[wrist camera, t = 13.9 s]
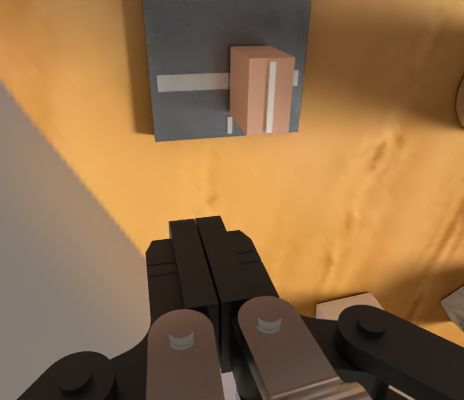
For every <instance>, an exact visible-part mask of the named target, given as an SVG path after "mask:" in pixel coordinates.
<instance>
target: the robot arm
mask: <svg viewBox="0 0 464 400" xmlns="http://www.w3.org/2000/svg"><path fill="white" fill-rule="evenodd" d="M456 111H457V116H458V119H459V121H460V123H461V124H462V125H463V126H464V78H463V80H462V82H461V85H460V87H459V90H458V95H457V100H456ZM169 235H170V239H163V240H155V241H152V242H151V244H150V246H149V248H148V249H147V251H146V264H147V276H148V287H149V288H148V289H149V302H150V315H151V324H150V328H149V330H148V333H147V334H146V336H145V337H144V338H143V340H142V341H141V342H140V343H139V344H137V345H136V346H135V347H134V348H132V349H131V350H129V351H127V352H125V353H123V354H121V355H119V356H116V357H114V358H112V359H110V360H109V359H108V358H107V357H106V356H104V355H102V354H100V353H97V352H92V351H83V352H77V353H73V354H70V355H68V356H65V357H63V358H62V359H60V360H58V361H57V362H55V363H54V364H53V365H51V366H50V367H49V368H48V369H47V370H46V371H45V372H44V373H43V374H42V375H41V376H40V377H39V378H38V379H37V380H36V381H35V382H34V383H33V384H32V385H31V386H30V387H29V388H28V389H27V390H26V391H25V392H24V393H23V394H22V395H21V396H20V397H19V398H18V399H17V400H225V398H224V392H223V385H222V380H221V373H226V372H231V371H232V372H233V375H234V379H235V383H236V400H409V399H408V398H406V397H404V396H402V395H401V394H399V393H397V392H395V391H394V390H392V389H390V388H389V386H392V387H394V388H395V389H397V390H399V391H401V392H402V393H404V394H406V395H408V396H410V397H411V398H413V399H415V400H464V348H463V347H461V346H459V345H457V344H455V343H453V342H451V341H449V340H446V339H444V338H442V337H440V336H438V335H436V334H434V333H431V332H429V331H427V330H425V329H423V328H421V327H419V326H416V325H414V324H412V323H410V322H408V321H406V320H404V319H401V318H399V317H397V316H395V315H393V314H391V313H389V312H387V311H384V310H382V309H380V308H377V307H374V306H370V305H353V306H350V307H347V308H345V309H344V310H343V311H342V312H341V313H340V315H339V317H338V320H327V319H317V318H309V317H306V316H302V315H300V314H299V313H298V312H297V310H296V309H295V308H294V307H293V306H292V305H291V304H290V303H288V302H287V301H285V300H283V299H280V298H279V296H278V293H277V291H276V289H275V287H274V285H273V283H272V281H271V279H270V277H269V275H268V273H267V271H266V269H265V267H264V265H263V263H262V262H261V259H260V256H259V254H258V253H257V250H256V248H255V246H254V244H253V242H252V240H251V239H250V238H249V237H248V236H246V235H245V234H244V233H243V232H241V231H240V230H236V231H228V232H227V231H226V228H225V226H224V224H223V221H222V219H221V217H220V216H212V217H203V218H195V221H194V219H186V220H177V221H169ZM219 365H220V366H219ZM220 369H221V372H220Z"/></svg>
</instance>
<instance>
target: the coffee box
mask: <svg viewBox="0 0 464 400" xmlns="http://www.w3.org/2000/svg"><path fill="white" fill-rule="evenodd" d="M441 304H442V306H443V307H444V309H445V311H446V313H447V314H448V316H449V318H450V319H451V321H452V322H453V323H455V324H456V325H457V326H458V327H459V328H460V329H461V330H462V331H463V332H464V286H462V287H461V288H459V289H458V290H457V291H455V292H454V293H452V294H451V295H449V296H448V297H446V298H445V299H443V300H442V301H441Z"/></svg>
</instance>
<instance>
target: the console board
mask: <svg viewBox="0 0 464 400" xmlns="http://www.w3.org/2000/svg"><path fill="white" fill-rule="evenodd" d="M142 2H143V14H144V26H145V37H146V49H147V60H148V72H149V84H150V95H151V107H152V119H153V130H154V138H155V142H160V141H174V140H188V139H202V138H216V137H230V136H244V135H246V134H245V133H244V132H243V130H242V129H241V128H240V127H239V125H238V124H237V123H236V122H235V120H234V119H233V118H232V117H231V115H230V47H233V46H272V47H274V48H276V49H278V50H280V51H282V52H285V53H287V54H289V55H291V56H293V57H295V66H294V77H293V88H292V99H291V110H290V121H289V132H298V126H299V116H300V106H301V96H302V87H303V77H304V67H305V57H306V47H307V38H308V28H309V18H310V8H311V0H142Z"/></svg>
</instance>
